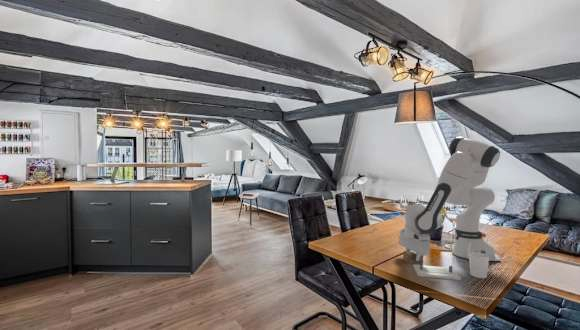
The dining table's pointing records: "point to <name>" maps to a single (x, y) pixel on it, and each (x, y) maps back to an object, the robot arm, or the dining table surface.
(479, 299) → the dining table surface
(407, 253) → the walnut frame
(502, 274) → the dining table surface
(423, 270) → the wall panel
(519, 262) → the dining table surface
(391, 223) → the dining table surface
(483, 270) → the pale white cylinder
